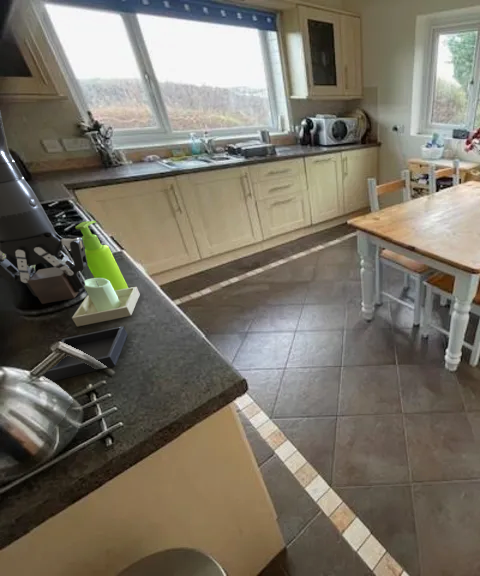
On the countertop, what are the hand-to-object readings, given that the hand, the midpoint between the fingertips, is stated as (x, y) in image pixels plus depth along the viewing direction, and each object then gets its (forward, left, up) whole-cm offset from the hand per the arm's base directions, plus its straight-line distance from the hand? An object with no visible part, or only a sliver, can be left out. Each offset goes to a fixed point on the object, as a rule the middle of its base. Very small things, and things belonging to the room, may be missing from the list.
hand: (62, 293), depth 64 cm
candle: (-2, +18, -14) cm, 23 cm away
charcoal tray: (-1, -2, -15) cm, 15 cm away
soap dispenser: (-3, +29, -15) cm, 33 cm away
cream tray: (-2, +18, -15) cm, 23 cm away
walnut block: (0, 0, 0) cm, 0 cm away
